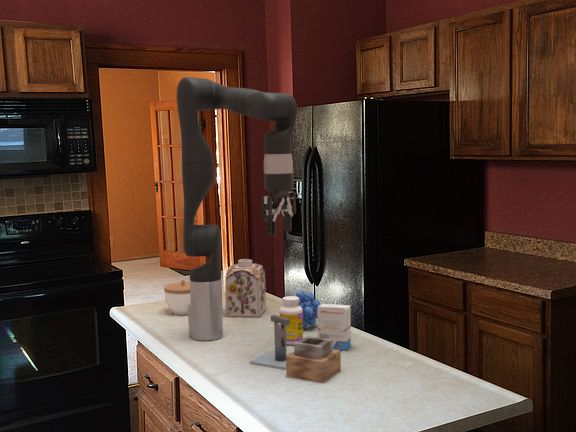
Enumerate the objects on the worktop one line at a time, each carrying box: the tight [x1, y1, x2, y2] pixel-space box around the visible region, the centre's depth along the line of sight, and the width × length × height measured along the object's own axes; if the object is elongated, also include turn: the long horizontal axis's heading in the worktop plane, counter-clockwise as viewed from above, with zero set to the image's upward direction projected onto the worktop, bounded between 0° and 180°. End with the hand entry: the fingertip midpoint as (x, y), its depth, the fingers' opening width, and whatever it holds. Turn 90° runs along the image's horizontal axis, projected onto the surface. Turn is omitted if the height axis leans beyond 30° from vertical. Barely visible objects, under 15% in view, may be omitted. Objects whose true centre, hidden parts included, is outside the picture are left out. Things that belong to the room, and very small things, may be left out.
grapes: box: [295, 290, 321, 330], centre depth 200 cm, size 12×7×12 cm, turn 117°
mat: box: [249, 350, 290, 371], centre depth 172 cm, size 12×10×1 cm
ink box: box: [316, 303, 352, 352], centre depth 183 cm, size 9×5×12 cm, turn 71°
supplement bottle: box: [278, 295, 304, 346], centre depth 188 cm, size 7×7×13 cm
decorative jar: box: [224, 258, 267, 318], centre depth 221 cm, size 12×12×18 cm
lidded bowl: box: [163, 279, 191, 316], centre depth 224 cm, size 13×13×11 cm
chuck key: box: [270, 314, 290, 361], centre depth 171 cm, size 3×6×11 cm, turn 40°
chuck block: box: [285, 335, 342, 383], centre depth 163 cm, size 10×10×8 cm
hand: (279, 233), depth 173 cm, fingers open, 8 cm apart
